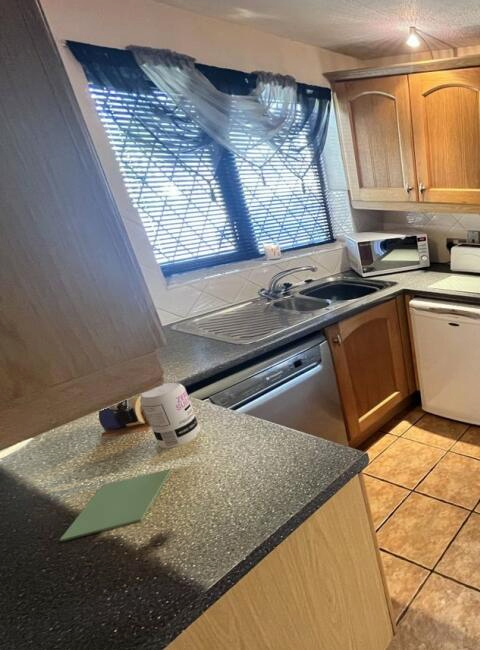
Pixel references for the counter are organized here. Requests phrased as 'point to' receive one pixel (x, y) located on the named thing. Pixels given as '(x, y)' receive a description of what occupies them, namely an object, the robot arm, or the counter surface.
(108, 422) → the vinyl tape
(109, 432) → the tape rack
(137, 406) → the masking tape
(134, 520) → the mat
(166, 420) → the supplement can
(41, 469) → the counter surface
